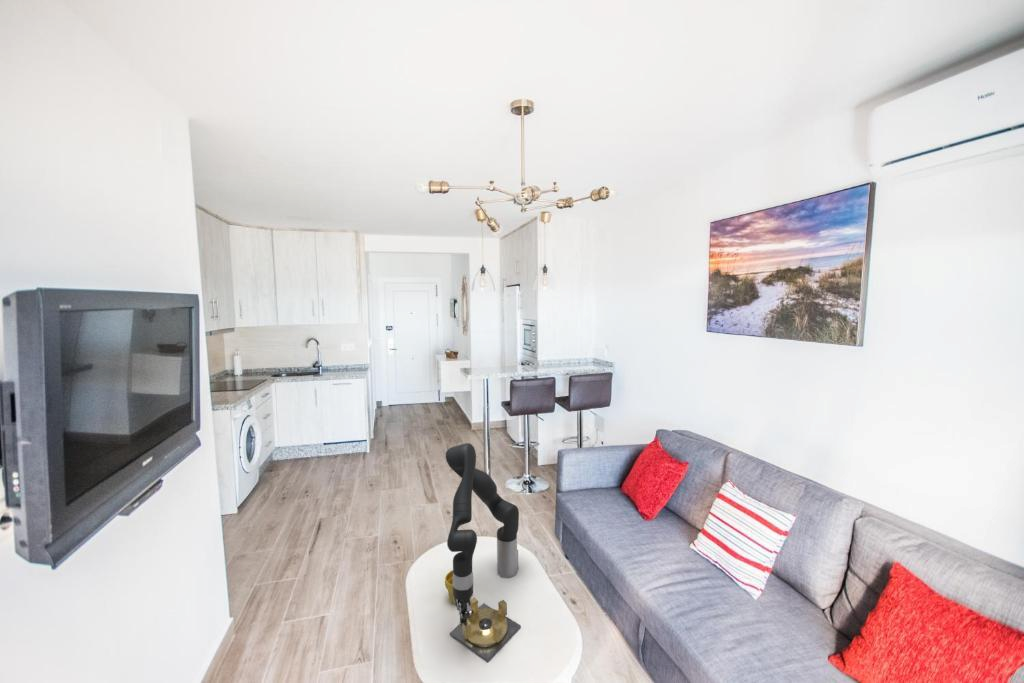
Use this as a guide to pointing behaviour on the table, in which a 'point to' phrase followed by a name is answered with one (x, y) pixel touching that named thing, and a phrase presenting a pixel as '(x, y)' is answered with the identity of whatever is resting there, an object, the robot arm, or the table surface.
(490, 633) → the pegged brass disc
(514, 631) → the flange plate
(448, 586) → the plant pot
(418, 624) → the table surface
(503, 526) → the robot arm
